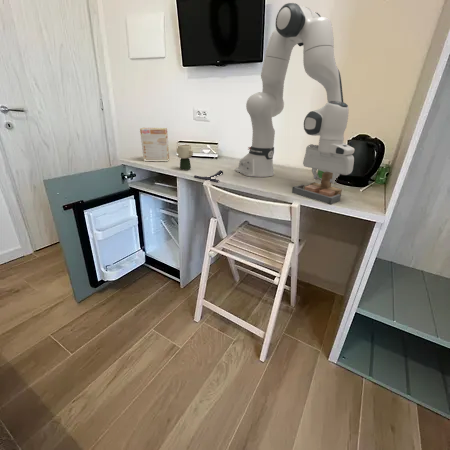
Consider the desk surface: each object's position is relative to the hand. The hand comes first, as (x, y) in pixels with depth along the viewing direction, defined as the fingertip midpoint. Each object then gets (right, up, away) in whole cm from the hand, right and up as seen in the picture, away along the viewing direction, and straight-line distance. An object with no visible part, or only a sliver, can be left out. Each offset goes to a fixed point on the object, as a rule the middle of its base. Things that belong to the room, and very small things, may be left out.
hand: (323, 181), depth 108 cm
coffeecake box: (-84, +22, +57) cm, 104 cm away
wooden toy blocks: (+2, -5, +4) cm, 6 cm away
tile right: (+1, -7, -1) cm, 7 cm away
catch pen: (-4, -6, 0) cm, 7 cm away
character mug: (-63, +13, +38) cm, 75 cm away
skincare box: (+11, +5, +24) cm, 27 cm away
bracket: (-47, +6, +25) cm, 53 cm away
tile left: (-4, -5, +4) cm, 7 cm away
